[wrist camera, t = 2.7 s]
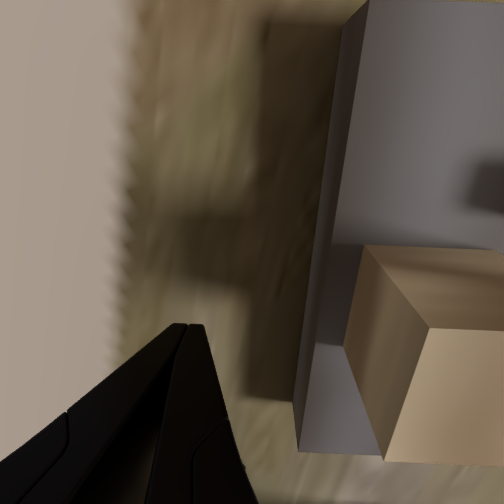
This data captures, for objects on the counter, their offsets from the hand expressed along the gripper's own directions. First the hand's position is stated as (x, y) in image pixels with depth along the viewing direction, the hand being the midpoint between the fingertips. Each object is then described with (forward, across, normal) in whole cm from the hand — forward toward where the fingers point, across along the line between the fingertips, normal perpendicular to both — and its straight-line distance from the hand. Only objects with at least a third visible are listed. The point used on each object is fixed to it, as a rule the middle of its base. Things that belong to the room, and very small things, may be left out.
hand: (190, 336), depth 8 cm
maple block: (+2, -7, 0) cm, 7 cm away
